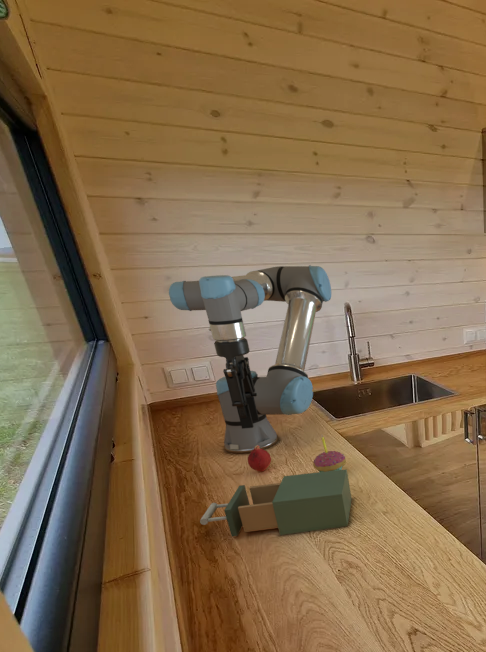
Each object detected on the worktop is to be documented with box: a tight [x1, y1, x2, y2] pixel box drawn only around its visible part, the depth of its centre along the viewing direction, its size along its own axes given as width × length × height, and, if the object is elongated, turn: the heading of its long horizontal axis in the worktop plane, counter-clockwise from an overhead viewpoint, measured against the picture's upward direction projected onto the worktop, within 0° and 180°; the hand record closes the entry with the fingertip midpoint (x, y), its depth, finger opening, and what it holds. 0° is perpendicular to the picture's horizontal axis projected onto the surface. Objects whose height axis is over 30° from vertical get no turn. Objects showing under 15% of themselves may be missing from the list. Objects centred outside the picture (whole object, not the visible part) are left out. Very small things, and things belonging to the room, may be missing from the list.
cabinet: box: [272, 469, 353, 536], centre depth 115 cm, size 15×13×9 cm
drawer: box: [199, 482, 281, 538], centre depth 112 cm, size 20×11×7 cm, turn 103°
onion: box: [247, 445, 272, 473], centre depth 138 cm, size 6×6×8 cm
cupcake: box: [313, 435, 347, 472], centre depth 133 cm, size 9×8×12 cm
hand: (250, 423), depth 133 cm, fingers open, 5 cm apart
